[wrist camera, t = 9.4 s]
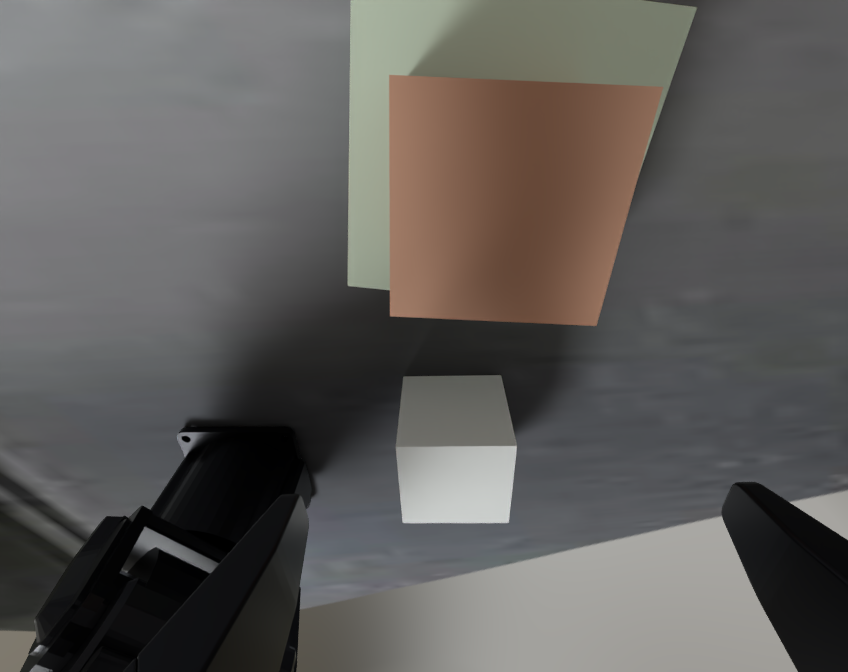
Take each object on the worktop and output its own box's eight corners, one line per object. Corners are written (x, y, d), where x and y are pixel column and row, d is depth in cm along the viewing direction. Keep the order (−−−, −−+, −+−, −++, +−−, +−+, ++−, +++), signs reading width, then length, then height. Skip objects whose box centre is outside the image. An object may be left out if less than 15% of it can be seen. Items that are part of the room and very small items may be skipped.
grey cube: (408, 445, 25) (402, 523, 20) (403, 375, 22) (395, 446, 18) (495, 445, 24) (508, 523, 20) (500, 374, 22) (516, 445, 18)
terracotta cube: (403, 247, 15) (390, 316, 10) (406, 77, 12) (388, 74, 8) (549, 254, 15) (596, 325, 10) (582, 85, 12) (662, 87, 8)
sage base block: (363, 248, 19) (347, 286, 15) (371, -11, 14) (351, -38, 11) (563, 269, 19) (591, 311, 16) (635, 23, 15) (697, 7, 11)
